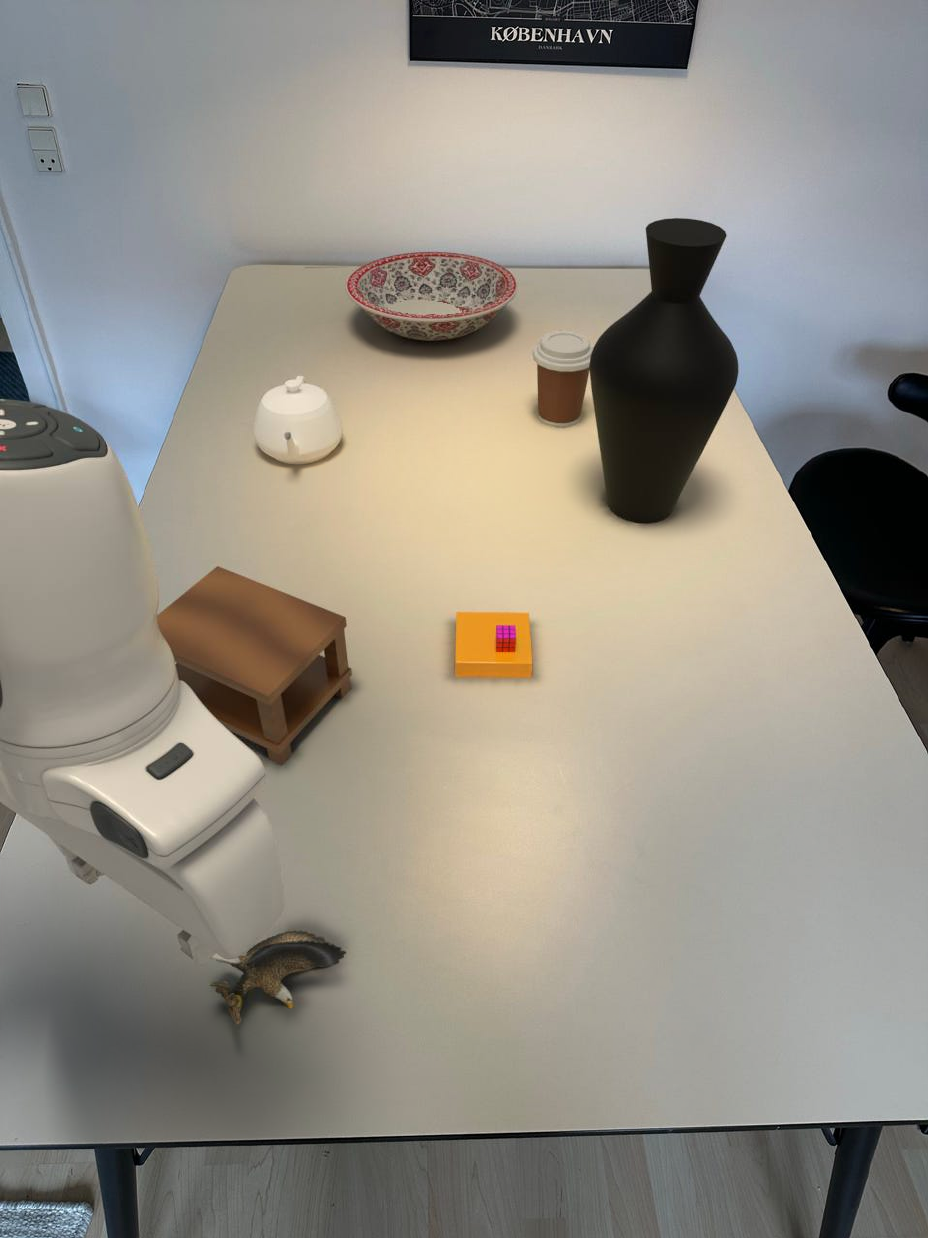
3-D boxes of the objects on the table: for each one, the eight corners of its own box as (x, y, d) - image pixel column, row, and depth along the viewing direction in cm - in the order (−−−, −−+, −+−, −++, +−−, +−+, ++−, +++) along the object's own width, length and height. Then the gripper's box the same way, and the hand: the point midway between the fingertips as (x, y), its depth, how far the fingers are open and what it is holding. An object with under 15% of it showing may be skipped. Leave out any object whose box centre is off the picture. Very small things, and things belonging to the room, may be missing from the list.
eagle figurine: (265, 1065, 65) (364, 977, 68) (210, 996, 62) (315, 908, 65) (238, 1015, 71) (330, 937, 74) (188, 951, 69) (284, 874, 72)
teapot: (340, 488, 121) (333, 420, 114) (247, 489, 121) (235, 422, 114) (347, 413, 136) (341, 350, 129) (264, 414, 135) (254, 351, 129)
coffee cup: (516, 411, 137) (520, 336, 129) (564, 395, 141) (570, 321, 132) (553, 437, 131) (559, 360, 123) (601, 420, 135) (611, 344, 127)
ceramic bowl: (386, 285, 172) (384, 243, 167) (534, 307, 165) (537, 263, 160) (321, 350, 151) (316, 303, 146) (486, 377, 145) (488, 330, 139)
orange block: (455, 677, 95) (455, 648, 92) (456, 626, 101) (456, 597, 98) (531, 678, 95) (533, 649, 92) (527, 627, 101) (529, 598, 98)
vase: (733, 511, 118) (802, 236, 94) (644, 562, 110) (697, 275, 86) (635, 456, 128) (676, 194, 104) (547, 499, 119) (570, 226, 96)
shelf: (282, 768, 86) (268, 696, 79) (156, 706, 92) (132, 634, 85) (353, 688, 94) (346, 617, 87) (233, 636, 99) (217, 565, 93)
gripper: (-90, 686, 46) (-13, 864, 54) (186, 866, 37) (231, 1048, 45) (19, 627, 51) (76, 800, 59) (291, 775, 42) (315, 956, 49)
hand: (145, 909), depth 52 cm, fingers open, 8 cm apart
